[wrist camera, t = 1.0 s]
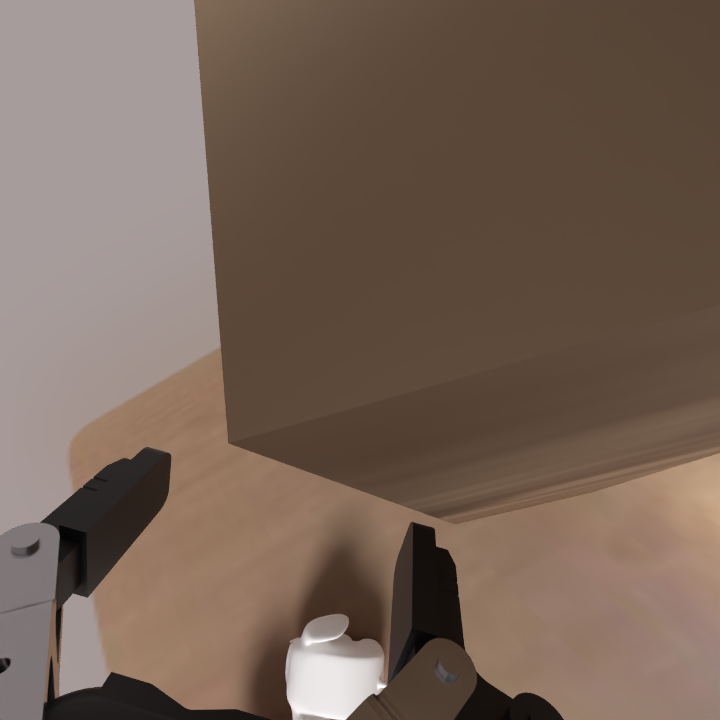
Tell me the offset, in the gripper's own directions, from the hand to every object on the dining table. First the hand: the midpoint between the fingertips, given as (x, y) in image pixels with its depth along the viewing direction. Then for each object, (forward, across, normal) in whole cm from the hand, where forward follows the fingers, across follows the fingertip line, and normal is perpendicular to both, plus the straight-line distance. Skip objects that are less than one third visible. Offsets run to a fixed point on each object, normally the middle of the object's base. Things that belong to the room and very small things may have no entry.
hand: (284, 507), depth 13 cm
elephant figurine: (+9, -5, +20) cm, 23 cm away
